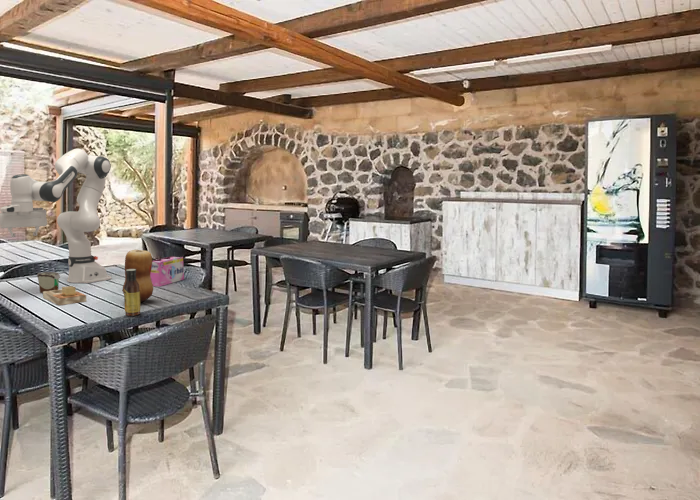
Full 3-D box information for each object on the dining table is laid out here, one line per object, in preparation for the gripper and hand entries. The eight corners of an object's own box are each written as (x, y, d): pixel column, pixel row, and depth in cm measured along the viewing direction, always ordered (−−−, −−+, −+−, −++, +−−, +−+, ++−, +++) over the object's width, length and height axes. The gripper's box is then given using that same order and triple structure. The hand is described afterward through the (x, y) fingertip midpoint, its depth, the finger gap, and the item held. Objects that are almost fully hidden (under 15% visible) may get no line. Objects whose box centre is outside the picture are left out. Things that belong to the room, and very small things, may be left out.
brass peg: (72, 300, 246) (71, 285, 245) (76, 301, 243) (75, 287, 242) (62, 301, 242) (61, 287, 242) (66, 303, 240) (65, 288, 239)
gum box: (174, 278, 306) (173, 255, 304) (185, 279, 303) (185, 256, 301) (147, 285, 283) (146, 261, 281) (159, 286, 281) (159, 262, 279)
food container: (66, 292, 262) (65, 273, 260) (56, 294, 256) (55, 275, 254) (48, 290, 266) (47, 271, 264) (37, 292, 260) (36, 273, 258)
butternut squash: (152, 305, 240) (150, 251, 237) (121, 306, 236) (119, 252, 233) (154, 298, 253) (153, 248, 250) (125, 299, 249) (123, 248, 246)
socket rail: (69, 294, 258) (69, 287, 258) (86, 301, 244) (86, 294, 243) (43, 297, 249) (42, 291, 249) (58, 305, 235) (58, 298, 235)
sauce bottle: (127, 312, 225) (126, 268, 223) (142, 312, 226) (141, 268, 223) (122, 316, 219) (120, 270, 216) (137, 316, 220) (136, 270, 217)
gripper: (44, 207, 260) (45, 234, 262) (-4, 208, 245) (-2, 237, 247) (48, 207, 256) (50, 235, 258) (0, 209, 241) (2, 238, 243)
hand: (24, 236), depth 252 cm, fingers open, 8 cm apart
